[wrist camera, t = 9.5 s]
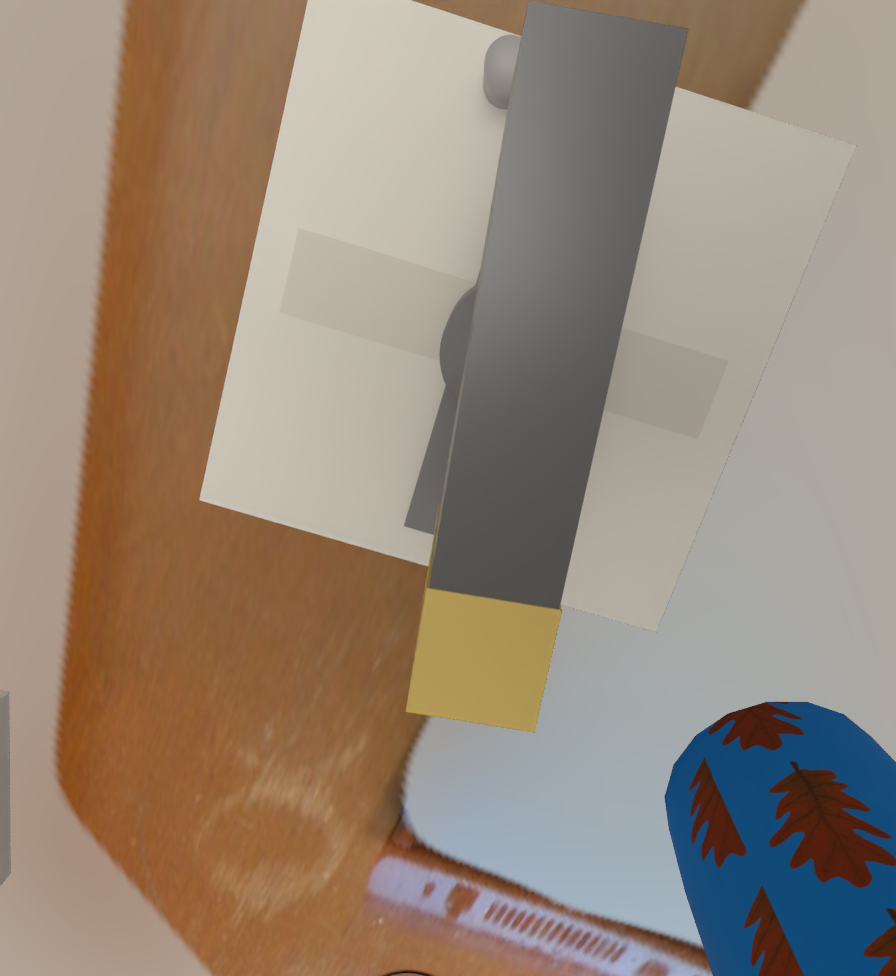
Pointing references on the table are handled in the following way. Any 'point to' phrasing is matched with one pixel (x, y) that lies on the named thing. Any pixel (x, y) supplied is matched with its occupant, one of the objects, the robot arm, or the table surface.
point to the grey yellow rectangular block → (540, 355)
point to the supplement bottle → (407, 974)
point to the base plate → (436, 210)
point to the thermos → (788, 843)
